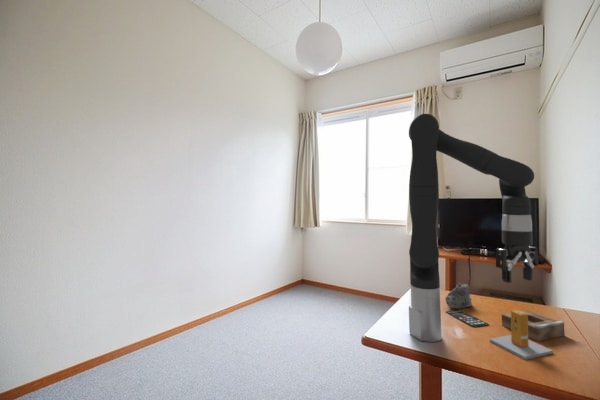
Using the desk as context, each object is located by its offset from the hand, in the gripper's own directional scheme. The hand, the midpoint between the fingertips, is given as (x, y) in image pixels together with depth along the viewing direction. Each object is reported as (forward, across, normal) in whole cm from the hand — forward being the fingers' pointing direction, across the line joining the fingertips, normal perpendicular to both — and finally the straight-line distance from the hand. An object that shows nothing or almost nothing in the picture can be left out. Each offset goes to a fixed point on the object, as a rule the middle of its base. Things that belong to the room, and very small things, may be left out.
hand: (517, 280), depth 86 cm
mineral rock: (+21, +9, +33) cm, 40 cm away
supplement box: (+20, 0, 0) cm, 20 cm away
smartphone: (+21, +2, +22) cm, 31 cm away
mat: (+21, 0, 0) cm, 21 cm away
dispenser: (+20, +15, +7) cm, 26 cm away
